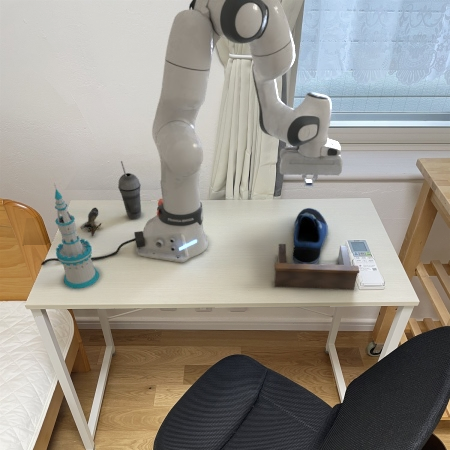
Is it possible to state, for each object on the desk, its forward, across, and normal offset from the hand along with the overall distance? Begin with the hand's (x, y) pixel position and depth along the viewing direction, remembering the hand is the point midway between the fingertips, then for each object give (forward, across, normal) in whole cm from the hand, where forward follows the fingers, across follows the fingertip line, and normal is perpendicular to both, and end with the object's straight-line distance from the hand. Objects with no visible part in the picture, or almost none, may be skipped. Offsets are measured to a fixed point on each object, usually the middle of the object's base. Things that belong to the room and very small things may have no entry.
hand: (308, 185), depth 155 cm
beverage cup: (+8, -59, -9) cm, 61 cm away
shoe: (+8, 0, -22) cm, 24 cm away
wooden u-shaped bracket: (+8, 0, -37) cm, 38 cm away
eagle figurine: (+8, -71, -18) cm, 74 cm away
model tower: (+8, -67, -43) cm, 80 cm away
